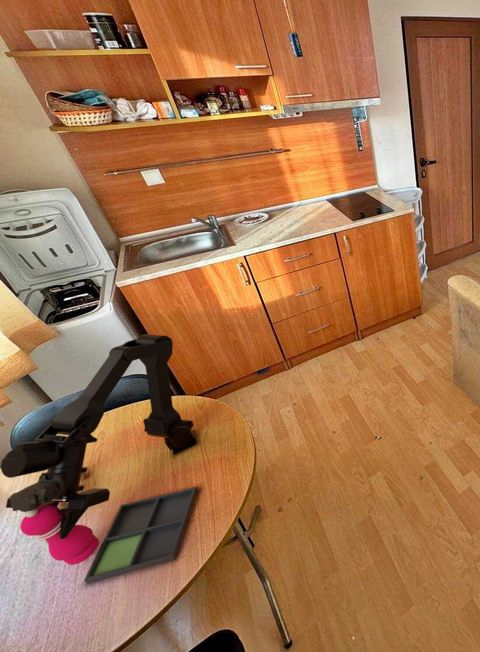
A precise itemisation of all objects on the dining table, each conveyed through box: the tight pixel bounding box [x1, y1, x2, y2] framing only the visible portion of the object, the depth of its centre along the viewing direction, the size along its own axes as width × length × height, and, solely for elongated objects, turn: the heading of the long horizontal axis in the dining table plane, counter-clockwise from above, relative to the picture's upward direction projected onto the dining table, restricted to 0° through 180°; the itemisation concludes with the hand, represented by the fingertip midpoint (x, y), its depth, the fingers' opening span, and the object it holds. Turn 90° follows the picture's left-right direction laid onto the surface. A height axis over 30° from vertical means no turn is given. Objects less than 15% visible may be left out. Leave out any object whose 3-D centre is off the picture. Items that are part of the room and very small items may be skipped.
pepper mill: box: [19, 505, 100, 566], centre depth 85 cm, size 7×7×20 cm
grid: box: [83, 486, 199, 585], centre depth 97 cm, size 18×18×2 cm
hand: (52, 538), depth 84 cm, fingers closed on pepper mill, 5 cm apart
